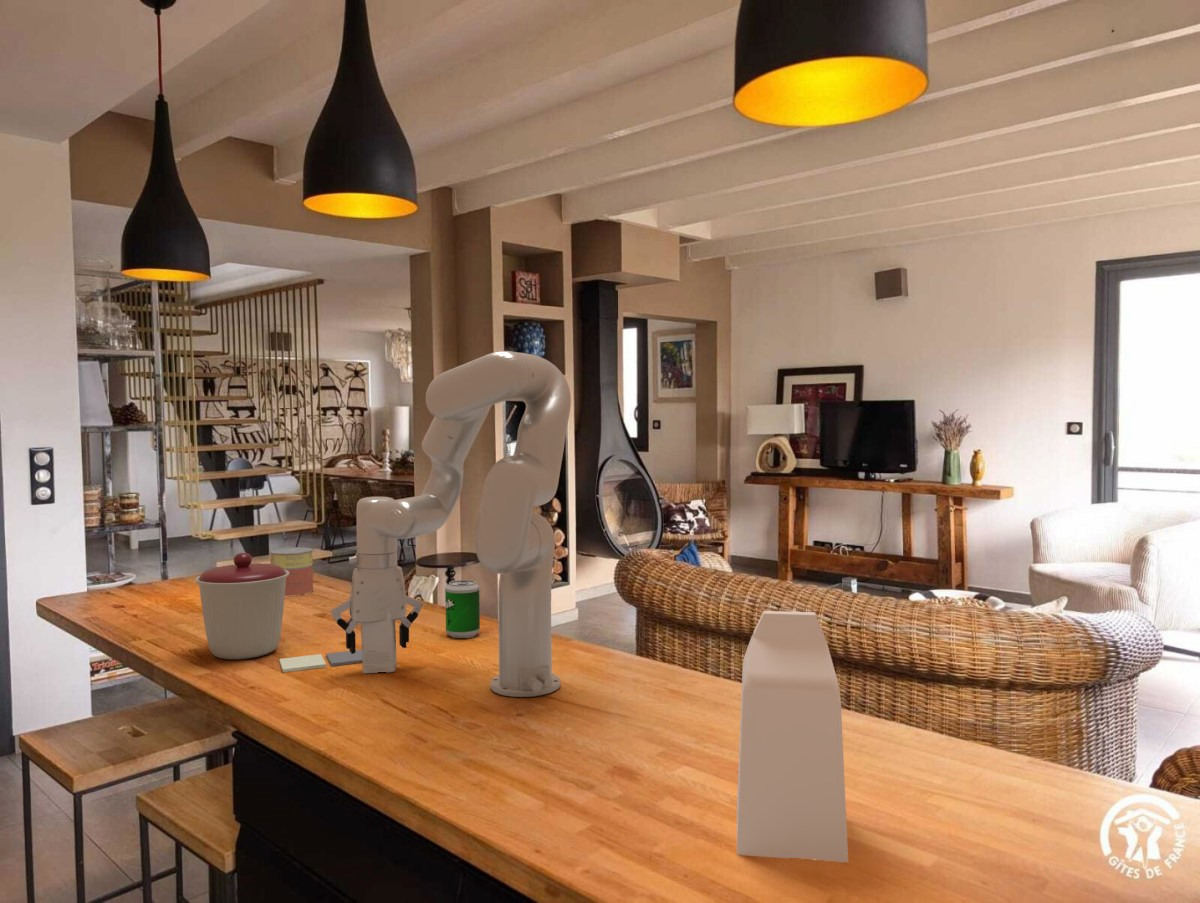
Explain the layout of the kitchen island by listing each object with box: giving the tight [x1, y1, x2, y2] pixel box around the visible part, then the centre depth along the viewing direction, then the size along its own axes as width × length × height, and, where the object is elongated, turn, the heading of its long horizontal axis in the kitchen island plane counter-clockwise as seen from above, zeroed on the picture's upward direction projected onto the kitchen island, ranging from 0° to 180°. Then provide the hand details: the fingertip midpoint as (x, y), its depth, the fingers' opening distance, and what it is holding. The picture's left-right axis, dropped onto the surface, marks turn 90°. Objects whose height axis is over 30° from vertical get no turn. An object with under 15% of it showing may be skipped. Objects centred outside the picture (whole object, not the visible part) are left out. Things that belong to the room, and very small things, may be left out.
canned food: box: [269, 546, 314, 596], centre depth 241 cm, size 11×11×12 cm
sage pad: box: [279, 653, 327, 673], centre depth 171 cm, size 8×8×1 cm
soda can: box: [444, 579, 481, 639], centre depth 192 cm, size 8×8×12 cm
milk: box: [736, 610, 849, 863], centre depth 100 cm, size 12×12×26 cm
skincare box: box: [360, 611, 398, 674], centre depth 166 cm, size 6×4×12 cm
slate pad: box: [325, 648, 363, 667], centre depth 174 cm, size 8×8×1 cm
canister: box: [194, 552, 289, 660], centre depth 179 cm, size 18×18×21 cm
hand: (377, 649), depth 166 cm, fingers open, 9 cm apart
